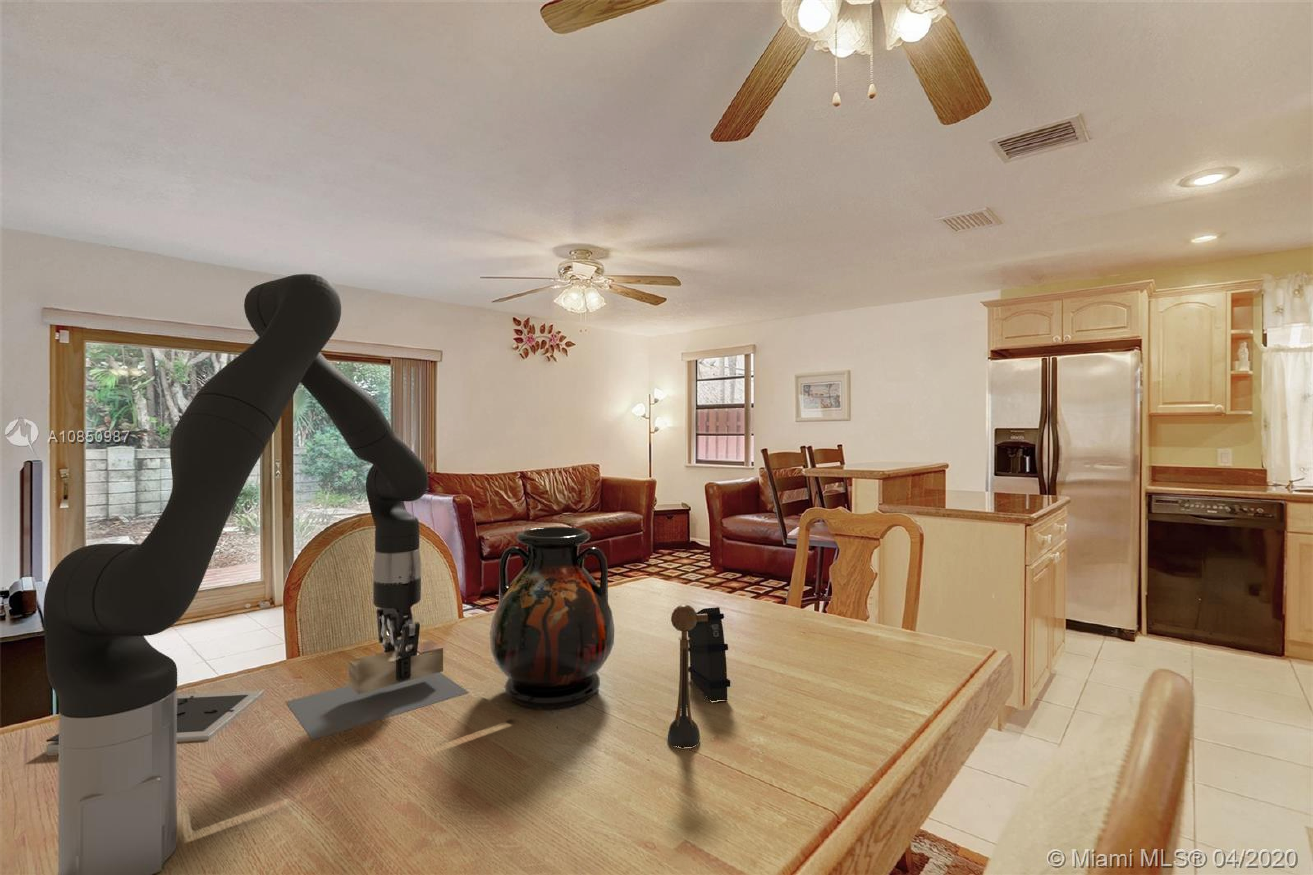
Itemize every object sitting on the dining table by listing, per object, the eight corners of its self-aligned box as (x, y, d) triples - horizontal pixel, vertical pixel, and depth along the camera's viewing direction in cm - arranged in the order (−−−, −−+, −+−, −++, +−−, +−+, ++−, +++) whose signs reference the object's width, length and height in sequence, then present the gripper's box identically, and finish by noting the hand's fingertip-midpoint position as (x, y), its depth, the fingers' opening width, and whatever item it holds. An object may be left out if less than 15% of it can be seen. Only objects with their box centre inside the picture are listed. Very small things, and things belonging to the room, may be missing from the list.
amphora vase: (471, 718, 96) (472, 542, 96) (509, 667, 117) (509, 522, 117) (607, 721, 95) (607, 543, 95) (619, 668, 116) (620, 523, 116)
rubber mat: (469, 697, 103) (469, 692, 103) (312, 745, 87) (312, 739, 87) (429, 669, 116) (429, 664, 116) (285, 706, 100) (285, 701, 100)
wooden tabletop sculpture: (702, 731, 92) (703, 599, 92) (710, 746, 87) (711, 608, 87) (664, 734, 91) (665, 601, 91) (670, 750, 86) (671, 610, 86)
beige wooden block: (358, 694, 97) (358, 668, 97) (348, 684, 101) (348, 659, 101) (443, 671, 107) (443, 647, 107) (431, 663, 110) (431, 640, 110)
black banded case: (716, 702, 98) (702, 608, 104) (691, 706, 109) (680, 621, 116) (737, 699, 99) (722, 606, 105) (710, 703, 110) (698, 619, 117)
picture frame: (46, 760, 84) (208, 750, 87) (46, 740, 84) (208, 730, 87) (128, 709, 100) (264, 702, 103) (128, 692, 100) (264, 685, 103)
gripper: (360, 572, 106) (360, 668, 106) (389, 587, 96) (389, 694, 96) (404, 566, 111) (403, 658, 111) (436, 579, 101) (436, 681, 101)
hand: (397, 674), depth 104 cm, fingers closed on beige wooden block, 5 cm apart
